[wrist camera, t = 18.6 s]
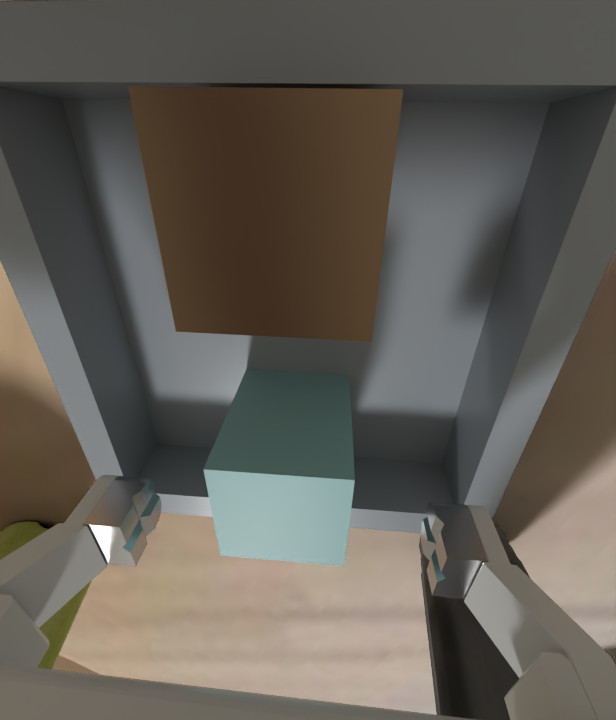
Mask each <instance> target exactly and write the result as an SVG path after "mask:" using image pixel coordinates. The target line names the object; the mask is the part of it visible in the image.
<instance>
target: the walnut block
mask: <svg viewBox="0 0 616 720" xmlns="http://www.w3.org/2000/svg"><path fill="white" fill-rule="evenodd" d="M128 90H129V95H130V100H131V105H132V110H133V116H134V121H135V126H136V131H137V136H138V141H139V146H140V151H141V156H142V162H143V167H144V172H145V177H146V182H147V187H148V192H149V197H150V202H151V208H152V213H153V218H154V223H155V228H156V233H157V238H158V243H159V248H160V254H161V259H162V264H163V269H164V274H165V279H166V284H167V289H168V294H169V299H170V305H171V310H172V315H173V320H174V325H175V330H176V332H191V333H211V334H231V335H250V336H270V337H290V338H309V339H329V340H349V341H368V342H372V335H373V327H374V319H375V311H376V304H377V296H378V288H379V280H380V272H381V264H382V256H383V248H384V240H385V232H386V224H387V216H388V209H389V201H390V193H391V185H392V177H393V169H394V161H395V153H396V145H397V137H398V129H399V121H400V114H401V106H402V98H403V90H404V89H336V88H244V87H151V86H128Z"/></svg>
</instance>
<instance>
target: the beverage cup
mask: <svg viewBox="0 0 616 720" xmlns="http://www.w3.org/2000/svg"><path fill="white" fill-rule="evenodd" d="M494 526H495V528H496V531H497V533H498V535H499V538H500V540H501V543H502V545H503V547H504V550H505V552H506V554H507V557H508V559H509V562H510V564H511V565H517V566H518V567H519V568H520V569H521V570H522V571H523V572H524V573H525V574H526V575H527V576H528V577H529V575H528V573H527V571H526V570H525V568H524V566H523V564H522V562H521V561H520V560H519V559H518V558H517V556H516V554H515V552H514V551H513V549H512V547H511V546H510V545H509V543H508V541H507V539H506V536H505V534H504V532H503V531H502V530H501V529H500V528H499V527H498V526H497V525H495V524H494ZM419 548H420V553H421V567H422V573H421V579H422V587H423V596H424V605H425V614H426V623H427V632H428V640H429V649H430V658H431V667H432V676H433V685H434V693H435V702H436V711H437V715H443V716H452V717H460V718H468V719H477V720H510V717H509V713H508V710H507V706H506V703H505V699H504V697H505V696H506V694H507V692H508V691H509V690H510V689H511V688H512V686H513V685H514V684H515V683H516V682H517V680H518V679H519V677H518V676H517V674H516V673H515V672H514V670H513V669H512V667H511V666H510V665H509V663H508V662H507V660H506V659H505V658H504V656H503V655H502V654H501V652H500V651H499V649H498V648H497V647H496V645H495V644H494V642H493V641H492V640H491V638H490V637H489V635H488V634H487V633H486V631H485V630H484V629H483V627H482V626H481V624H480V623H479V622H478V620H477V619H476V617H475V616H474V615H473V613H472V612H471V611H470V609H469V608H468V606H467V605H466V604H465V602H464V599H456V598H448V597H440V596H432V593H431V588H430V583H429V579H428V574H427V568H428V565H429V562H430V561H429V560H428V559H427V558H426V556H425V555H424V554H423V549H422V544H421V538H420V544H419ZM529 578H530V577H529Z"/></svg>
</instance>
